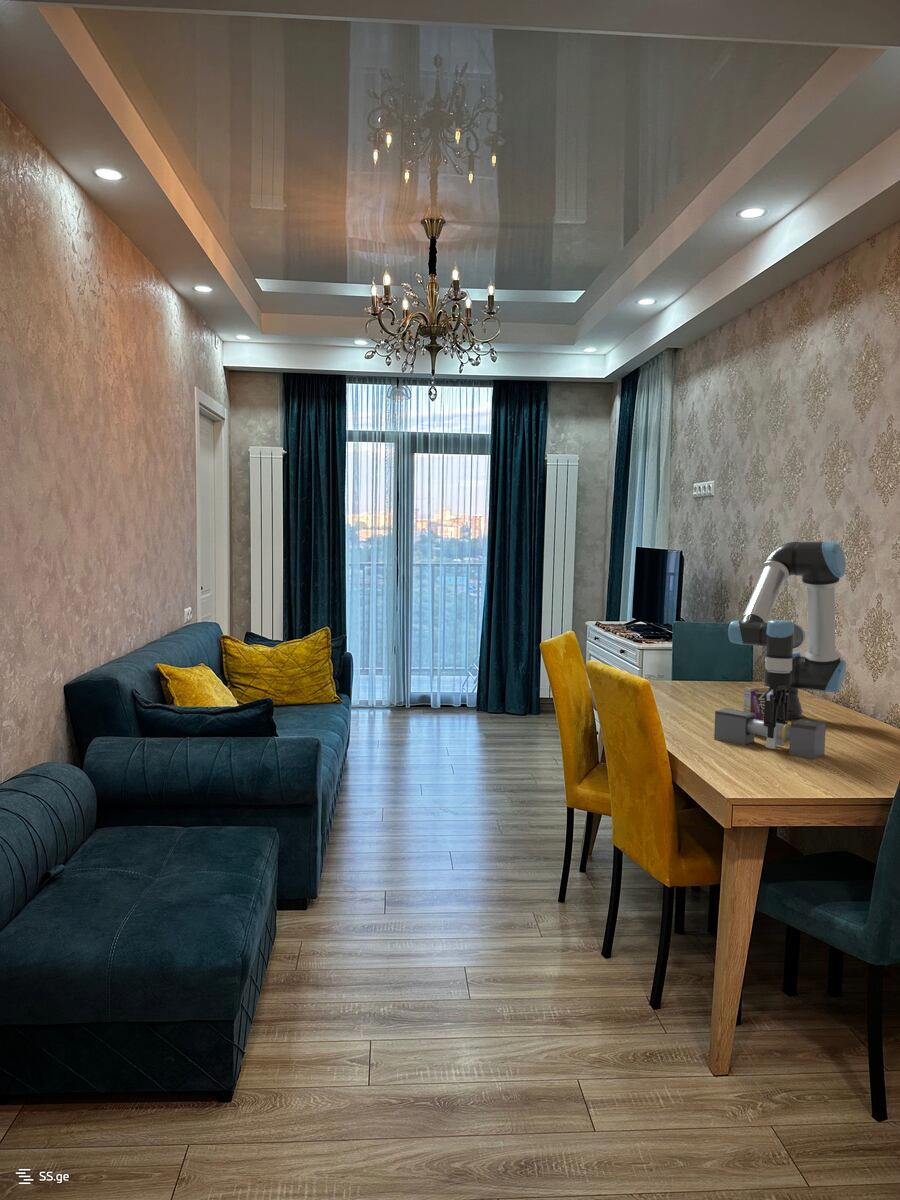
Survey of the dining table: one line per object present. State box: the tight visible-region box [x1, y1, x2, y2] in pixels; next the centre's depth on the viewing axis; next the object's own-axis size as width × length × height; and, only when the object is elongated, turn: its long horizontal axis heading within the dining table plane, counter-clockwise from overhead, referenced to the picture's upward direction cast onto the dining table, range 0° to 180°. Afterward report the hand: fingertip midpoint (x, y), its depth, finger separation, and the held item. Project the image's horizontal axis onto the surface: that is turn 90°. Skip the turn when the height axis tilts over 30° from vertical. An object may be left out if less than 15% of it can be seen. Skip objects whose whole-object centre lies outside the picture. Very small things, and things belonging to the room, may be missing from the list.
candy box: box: [743, 686, 769, 736], centre depth 261 cm, size 9×4×15 cm, turn 104°
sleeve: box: [713, 707, 756, 746], centre depth 251 cm, size 10×7×9 cm
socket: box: [788, 718, 827, 760], centre depth 235 cm, size 7×8×10 cm
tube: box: [746, 718, 791, 742], centre depth 243 cm, size 20×5×5 cm, turn 45°
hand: (774, 746), depth 242 cm, fingers closed on tube, 5 cm apart
